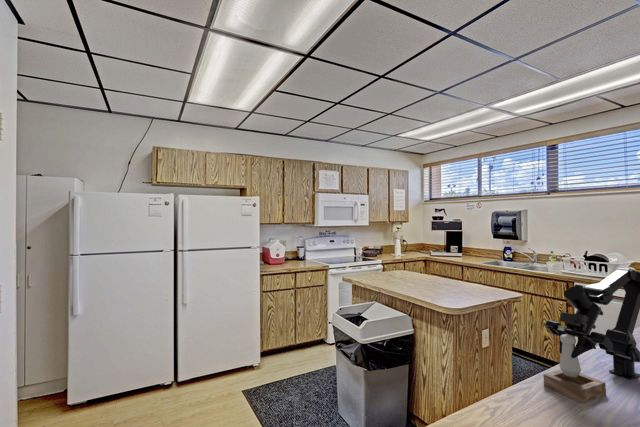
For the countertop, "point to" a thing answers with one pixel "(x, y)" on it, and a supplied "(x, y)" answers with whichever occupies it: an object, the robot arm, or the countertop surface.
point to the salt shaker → (569, 357)
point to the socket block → (575, 386)
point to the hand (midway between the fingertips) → (566, 355)
